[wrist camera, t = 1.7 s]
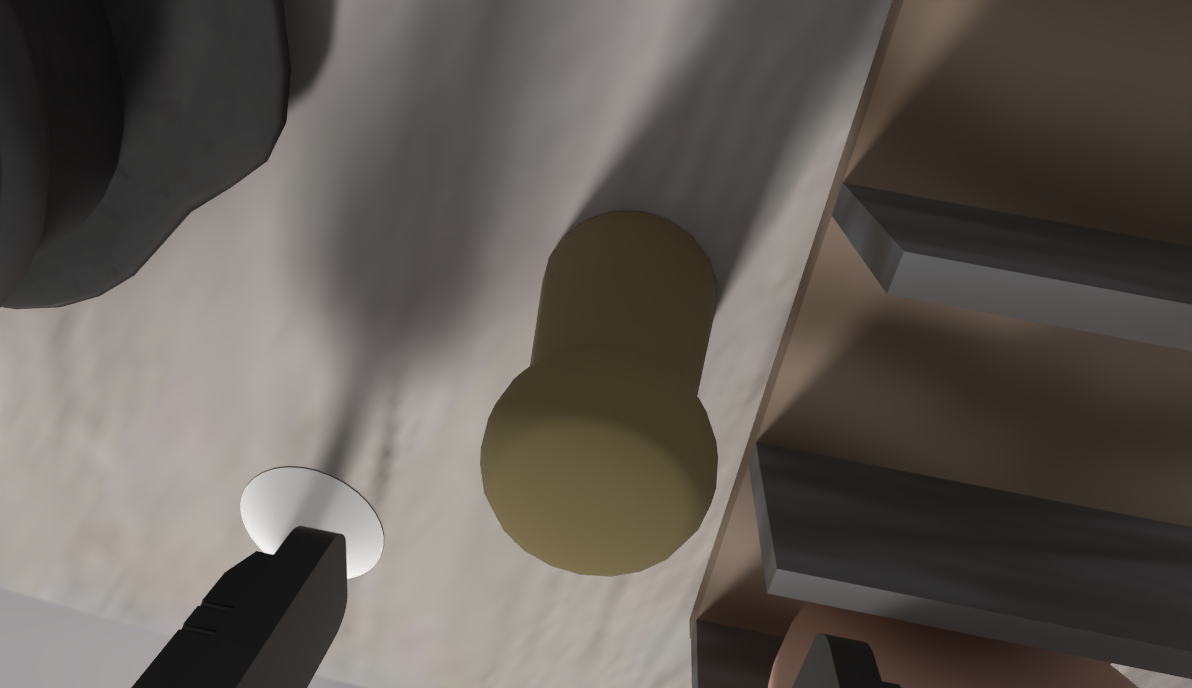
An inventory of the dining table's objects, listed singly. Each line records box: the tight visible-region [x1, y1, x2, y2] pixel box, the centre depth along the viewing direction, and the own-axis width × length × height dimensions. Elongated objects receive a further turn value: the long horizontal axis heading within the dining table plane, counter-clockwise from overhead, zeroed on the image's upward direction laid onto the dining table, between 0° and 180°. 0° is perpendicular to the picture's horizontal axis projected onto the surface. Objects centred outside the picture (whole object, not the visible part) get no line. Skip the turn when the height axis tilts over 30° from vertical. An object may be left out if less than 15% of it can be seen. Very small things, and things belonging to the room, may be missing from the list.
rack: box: [690, 0, 1192, 688], centre depth 16 cm, size 30×16×15 cm, turn 171°
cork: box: [480, 211, 718, 576], centre depth 18 cm, size 6×6×11 cm
